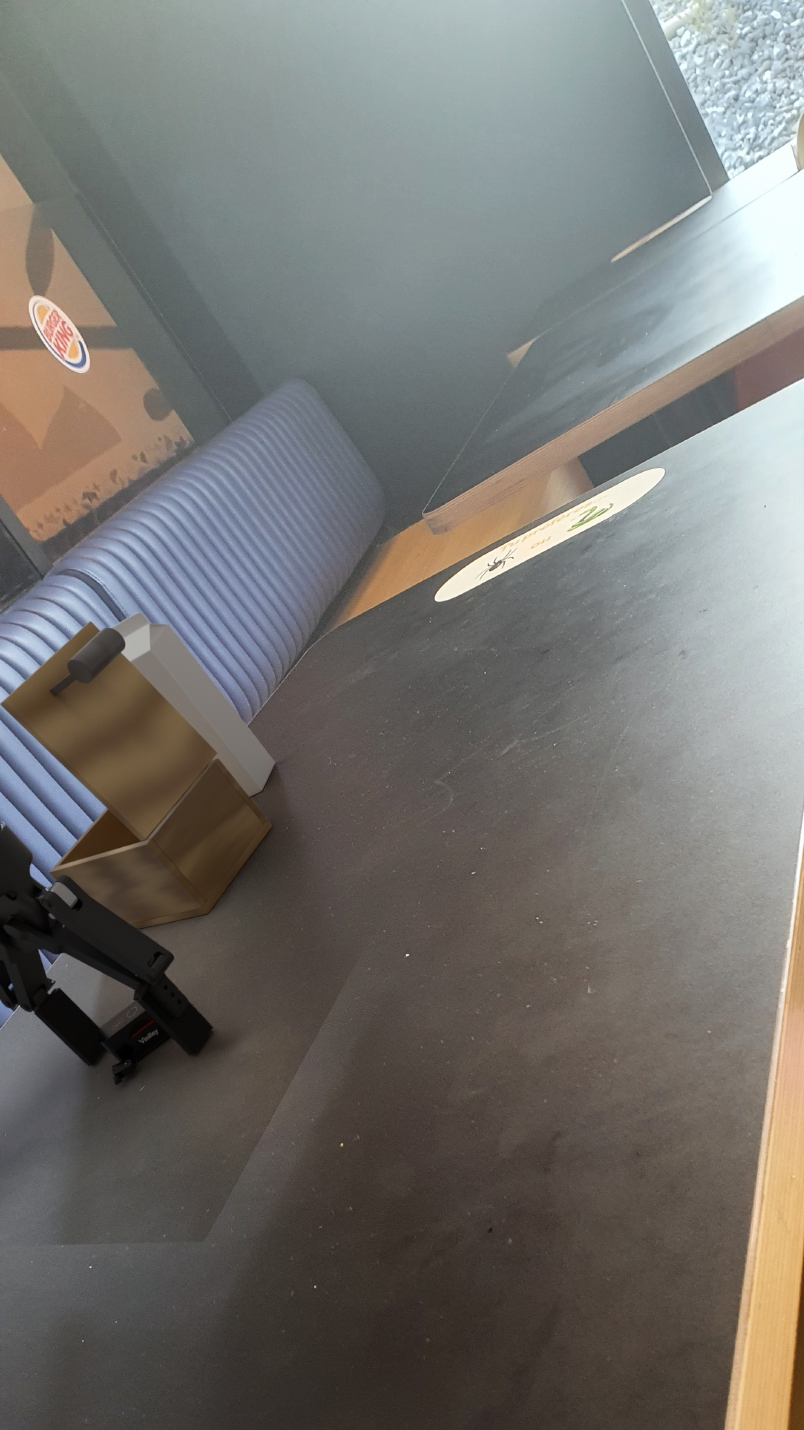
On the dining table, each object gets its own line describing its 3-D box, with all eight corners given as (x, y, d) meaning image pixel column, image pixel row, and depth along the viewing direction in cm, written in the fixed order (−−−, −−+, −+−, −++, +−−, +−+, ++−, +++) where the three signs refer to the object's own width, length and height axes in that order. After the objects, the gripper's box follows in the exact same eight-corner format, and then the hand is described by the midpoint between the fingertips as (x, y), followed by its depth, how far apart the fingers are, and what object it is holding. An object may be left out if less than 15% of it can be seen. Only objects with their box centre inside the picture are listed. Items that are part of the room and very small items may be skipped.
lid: (-1, 704, 97) (38, 671, 92) (86, 624, 105) (126, 590, 100) (141, 841, 103) (184, 818, 98) (213, 755, 111) (256, 729, 106)
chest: (108, 935, 116) (48, 872, 112) (174, 852, 124) (121, 790, 120) (208, 914, 107) (146, 844, 103) (272, 825, 115) (218, 757, 111)
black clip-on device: (116, 1061, 94) (89, 1035, 92) (187, 1007, 94) (162, 980, 93) (119, 1090, 90) (92, 1063, 88) (194, 1033, 90) (168, 1005, 89)
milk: (262, 791, 124) (129, 623, 114) (219, 812, 127) (84, 649, 116) (276, 762, 129) (150, 598, 119) (234, 782, 132) (106, 623, 121)
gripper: (86, 781, 77) (275, 997, 87) (-93, 846, 92) (86, 1024, 102) (16, 856, 72) (225, 1075, 82) (-162, 911, 87) (34, 1092, 97)
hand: (149, 1047), depth 92 cm, fingers open, 12 cm apart
